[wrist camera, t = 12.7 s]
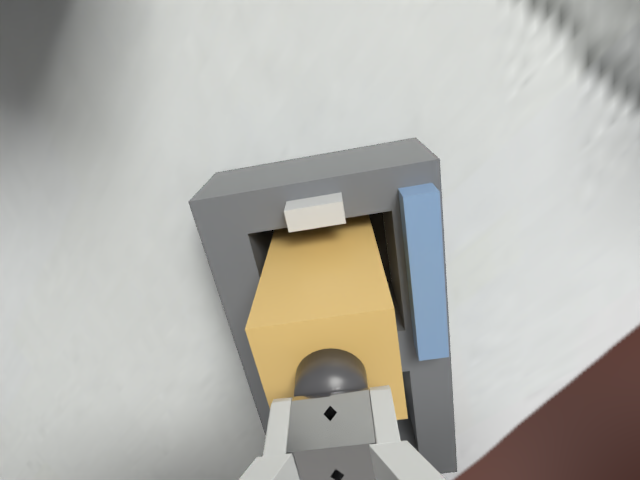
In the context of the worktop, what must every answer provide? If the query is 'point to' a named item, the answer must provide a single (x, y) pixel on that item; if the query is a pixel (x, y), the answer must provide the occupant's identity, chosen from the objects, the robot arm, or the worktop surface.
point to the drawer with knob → (325, 315)
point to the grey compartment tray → (331, 209)
